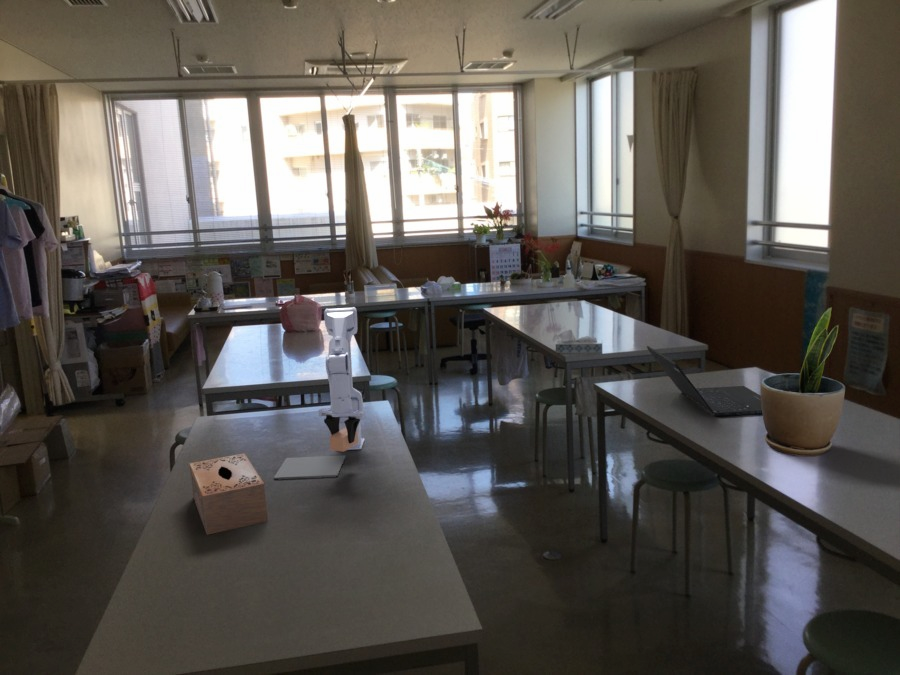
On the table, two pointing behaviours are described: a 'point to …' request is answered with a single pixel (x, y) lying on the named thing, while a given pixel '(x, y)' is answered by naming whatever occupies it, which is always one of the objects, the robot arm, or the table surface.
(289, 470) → the mat
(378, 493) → the table surface
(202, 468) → the tissue box cover
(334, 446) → the light orange rectangular block
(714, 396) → the laptop
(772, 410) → the potted plant
